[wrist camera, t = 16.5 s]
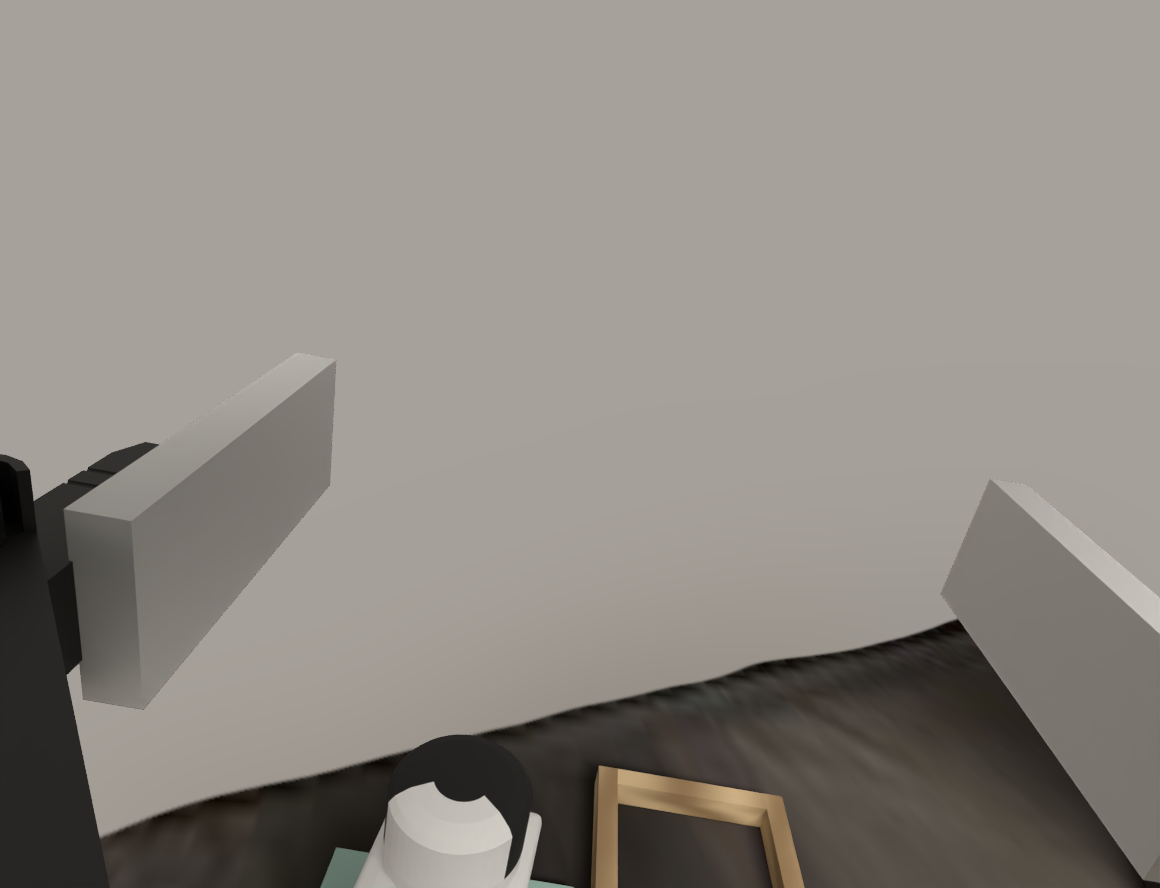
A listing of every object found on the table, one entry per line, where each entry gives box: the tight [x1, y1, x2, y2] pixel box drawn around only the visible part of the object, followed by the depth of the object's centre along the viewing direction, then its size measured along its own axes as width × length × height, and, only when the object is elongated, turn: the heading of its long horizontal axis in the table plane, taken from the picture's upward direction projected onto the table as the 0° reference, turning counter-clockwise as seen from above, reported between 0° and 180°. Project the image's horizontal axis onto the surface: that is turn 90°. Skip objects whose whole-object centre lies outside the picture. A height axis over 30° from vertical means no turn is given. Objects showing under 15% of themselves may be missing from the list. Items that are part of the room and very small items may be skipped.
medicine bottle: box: [354, 735, 542, 888], centre depth 33 cm, size 7×7×12 cm
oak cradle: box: [591, 766, 804, 888], centre depth 43 cm, size 12×12×2 cm
